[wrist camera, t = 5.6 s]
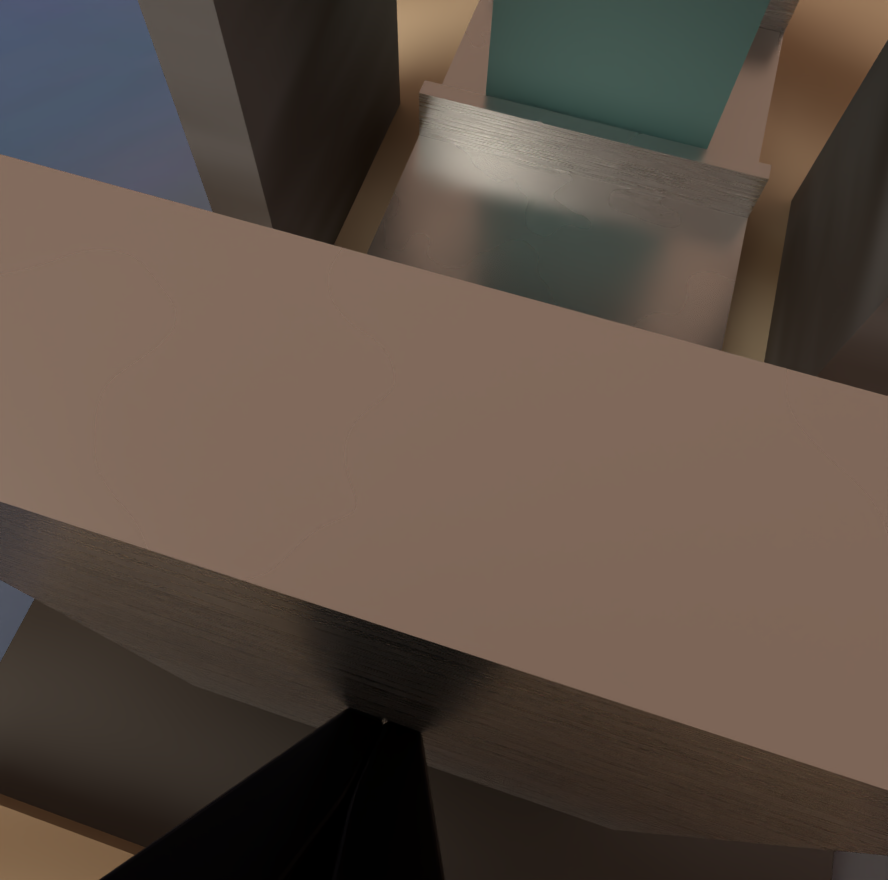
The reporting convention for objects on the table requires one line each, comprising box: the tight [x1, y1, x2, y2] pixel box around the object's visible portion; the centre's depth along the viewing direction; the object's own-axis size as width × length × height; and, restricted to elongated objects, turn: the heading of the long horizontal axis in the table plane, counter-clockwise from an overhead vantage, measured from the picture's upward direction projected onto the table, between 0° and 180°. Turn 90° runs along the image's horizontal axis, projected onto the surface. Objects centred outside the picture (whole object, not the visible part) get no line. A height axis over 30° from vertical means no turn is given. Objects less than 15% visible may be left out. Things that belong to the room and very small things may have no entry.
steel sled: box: [0, 0, 888, 856], centre depth 13 cm, size 20×8×11 cm, turn 163°
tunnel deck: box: [0, 0, 888, 880], centre depth 13 cm, size 28×16×13 cm, turn 162°
